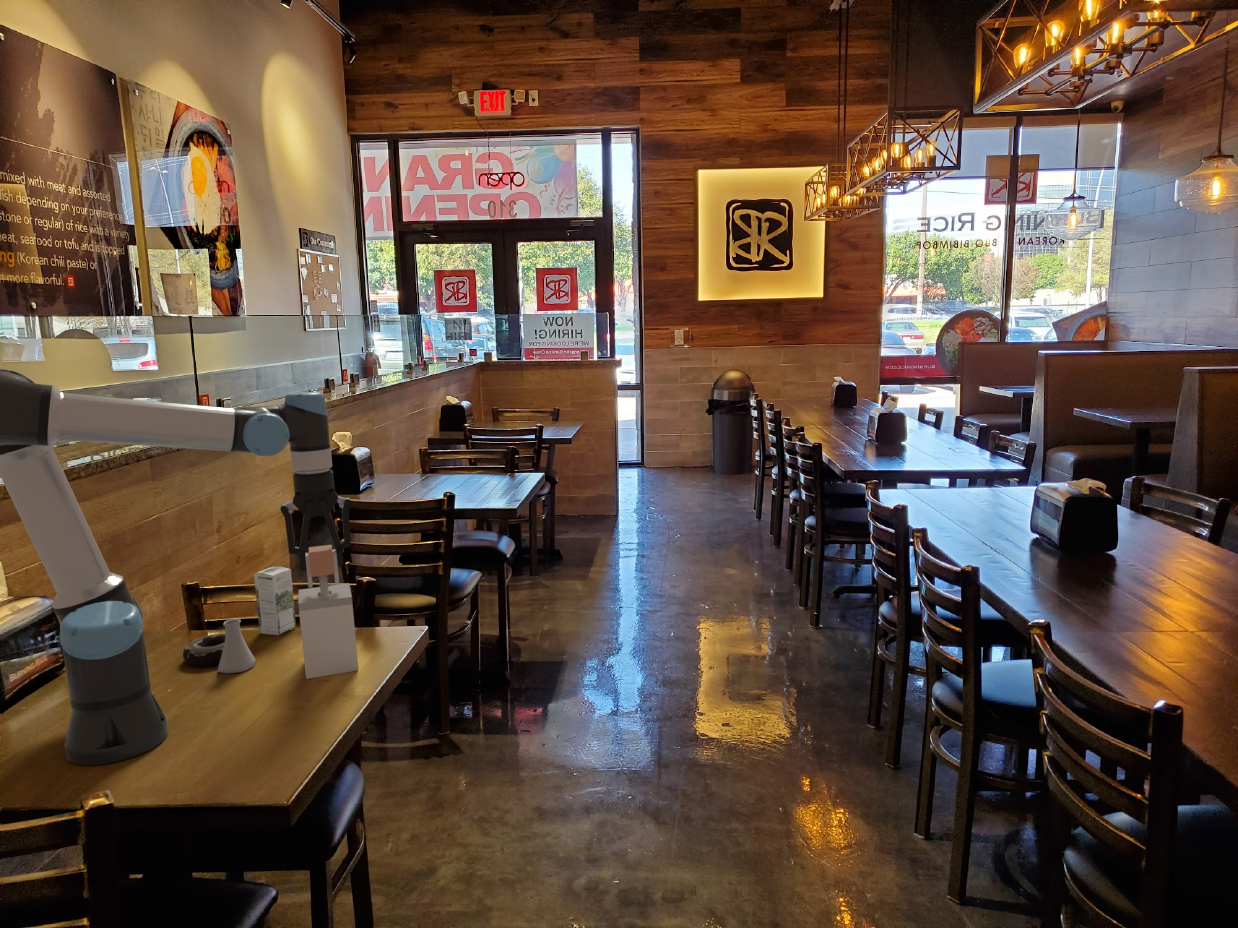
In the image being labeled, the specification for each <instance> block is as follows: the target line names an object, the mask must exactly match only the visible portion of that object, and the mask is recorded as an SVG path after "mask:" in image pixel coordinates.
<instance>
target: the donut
mask: <svg viewBox="0 0 1238 928" xmlns="http://www.w3.org/2000/svg"><path fill="white" fill-rule="evenodd" d="M225 636H226V633H214V634H209V635H208V634H207V635H204V636H202V637H198V638H196V639H194V640H193V641H191V642H189V643H188V644H187V645H185V646H184V649H183V651H182V658H183V659H184V661H185V663H186V664H188V665H190V666H194V667H204V668H205V667H213V666H217V665H218V666H219V663H220V660H221V656H222V652H223V648H224V644H225Z"/></svg>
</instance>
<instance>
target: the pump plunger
mask: <svg viewBox="0 0 1238 928" xmlns="http://www.w3.org/2000/svg"><path fill="white" fill-rule="evenodd" d="M332 550H333V546H332V544H327V545H325V544H324V545H318V546H317V545H316V546H310V547H308V553H309V559H310V569H311V577H312V578H314V577H318V581H319V587H320V593H321V596H322V595H329V589H328V586H329V580H328V576H330V575H334V574H335V573H334V563H333V552H332Z"/></svg>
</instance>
